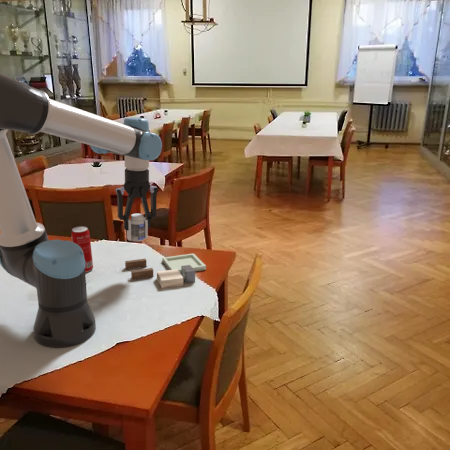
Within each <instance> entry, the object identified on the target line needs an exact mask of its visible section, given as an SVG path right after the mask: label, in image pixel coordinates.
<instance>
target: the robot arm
mask: <svg viewBox="0 0 450 450" xmlns="http://www.w3.org/2000/svg"><path fill="white" fill-rule="evenodd" d="M9 130H10V131H16V132H23V133H26V134H29V135H36V134H39V133H44V134H48V135H51V136H55V137H59V138H62V139H67V140H69V141H74V142H77V143H81V144H85V145H87V146H89V147H90V148H91V150H92V151H93V152H94V154H95V153H96V154H103V155H107V154H115V155H119V156H120V155H121V156H124V167H125V169H124V184H123V186H121V187H119V188H118V187H116V188H115V189H114V190H115V193H116V195H117V199H116V200H117V206H116V207H117V218H118V219H119V220H120V221H123V229H124V231H126V239H127V240H128V241H130V242H131V241H132V240H131V212H132V208H133V203H134V202H135V201H134V200H135V199H137V198H140V200H141V203H142V209H143V211H144V215H145V217H144V219H143V220H144V222H145V239H144V240H148V239H149V238H148V237H149V236H148V235H149V234H148V232H149V229H150V228H151V227H152V226H151V224H152V222H151V220H152V219H153V218H155V217H156V216H157V195H158V191H159V188H158V187H157V186H156V185H151V183H150V170H149V167H150V161H155V160H156V159H158V157H159V156H161V153H162V149H163V143H162V139H161V137H160V136H159V135H158V134H157V133H154V132H151V131H150V126H149V121H148V118H147V119H146V118H145V117H144V118H143V117H125V118H124V119H123V123H121V122H118V121H116V120H112V119H109V118H106V117H103V116H101V115H98V114H95V113H93V112H89V111H86V110H84V109H80V108H78V107H74V106H72V105H70V104H66V103H64V102H61V101H58V100H55V99H52V98H49V96H48V94H47V93H46V92H45V91H44V90H42V89H38V88H35V87H33V86H31V85H28V84H26V83H24V82H21V81H19V80H16V79H14V78H12V77H9V76H7V75H5V74H3V73H0V266H1V267H2V268H3V270H4V271H5V272H6V273H7V274H9V275H11V276H12V277H14V278H17V279H19V280H21V281H22V282H24V283H26V284H28V285H30V286H32V287H34V289H36V295H37V302H38V303H37V304H38V305H37V306H38V308H37V312H36V316H35V320H34V324H33V338H34V340H35V341H36V342H37V343H38V344H39V345H42V346H45V347H49V348H66V347H71V346H75V345H78V344H80V343H83V342H85V341H86V340H88V339H90V338H91V337H92V336H93V335H94V333H95V332H96V328H97V326H96V325H97V324H96V317H95V316H94V313H93V311H92V309H91V307H90V304H89V303H88V296H87V279H86V276H87V275H86V272H85V259H84V253H83V250H82V249H81V247H80V246H79V245H77V244H76V243H74V242H72V240H66V239H65V240H63V239H49V236H48V233H47V230H46V228H45V226H44V224H42V223H40V222H37V221H36V218H35V215H34V212H33V209H32V206H31V203H30V200H29V197H28V195H27V191H26V188H25V186H24V183H23V181H22V177H21V175H20V172H19V169H18V165H17V163H16V159H15V157H14V154H13V152H12V148H11V145H10V143H9V140H8V137H7V133H8V131H9ZM124 192H126V193H127V200H126V205H125V209H124V197H123V195H124V194H125V193H124ZM148 192H150V208H149V204H148V200H147V199H148V198H147V195H146V194H147V193H148Z"/></svg>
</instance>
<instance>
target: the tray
mask: <svg viewBox="0 0 450 450" xmlns="http://www.w3.org/2000/svg"><path fill="white" fill-rule="evenodd" d="M161 259H162V261H161V262H162V263H163V265H164V266H165V267H166V268H167V270H175V269H178V271H179V272H180V274H181V266H185V265H191V267H192V268H193V269H194V270H195V272H201V271H206V270H207V265H206V264H205V263H204V261H202V260H201V259H200V258H199V257H198V256H197V255H196V254H195V253H188V254H179V255H172V256H166V257H165V256H164V257H162V258H161Z"/></svg>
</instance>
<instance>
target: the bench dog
mask: <svg viewBox="0 0 450 450" xmlns="http://www.w3.org/2000/svg"><path fill="white" fill-rule="evenodd" d="M181 275H182V277H183V282H185V283H186V284H190V283H196V271H195V270H194V269H193V268H192V267H191V265H185V266H181Z"/></svg>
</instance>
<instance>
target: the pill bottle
mask: <svg viewBox="0 0 450 450" xmlns="http://www.w3.org/2000/svg"><path fill="white" fill-rule="evenodd" d="M144 218H145V217H144V214H143V213H139V212H138V213H132V214H130V221H131V241H132V242H142V241H145V240H146V239H145V222H144V220H143V219H144Z"/></svg>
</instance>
